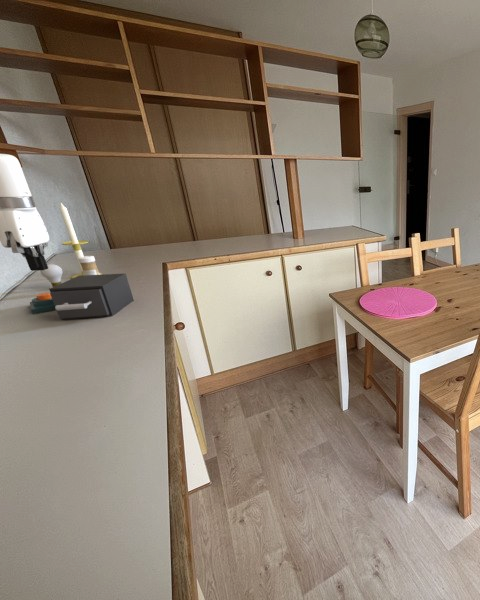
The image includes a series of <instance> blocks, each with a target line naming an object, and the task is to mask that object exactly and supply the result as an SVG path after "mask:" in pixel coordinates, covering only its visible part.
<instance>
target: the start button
mask: <svg viewBox="0 0 480 600" xmlns="http://www.w3.org/2000/svg"><path fill="white" fill-rule="evenodd" d="M36 298H38V300H46V299H51V298H52V297H51V295H50V292H43V293H38V294H36Z"/></svg>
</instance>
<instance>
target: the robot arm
mask: <svg viewBox="0 0 480 600" xmlns="http://www.w3.org/2000/svg"><path fill="white" fill-rule="evenodd" d="M49 241H50V235H49V232H48V230H47V226H46V224H45V222H44V221H43V218H42V216H41V214H40V213H39V211H38V209H37V206H36V203H35V200H34V198H33V196H32V192H31V189H30V187H29V184H28V181H27V179H26V177H25V173H24V171H23V168H22V165H21V163H20V161H19V159H18V158H17V157H16V156H15V155H12V154H7V153H0V244H1V246H2V247H4V248H6V249H11V252H12V253H13V254H20V255H21V256H22V258H24V259H25V260H26V263H27V265H28V267H29V270H30V271H33V272H35V271H41V270H45V269H48V266H47V265H48V263H47V260H46V258H45V256H44V255H45V248H47V247H48V246H49V243H48V242H49Z"/></svg>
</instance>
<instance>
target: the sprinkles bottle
mask: <svg viewBox="0 0 480 600" xmlns="http://www.w3.org/2000/svg"><path fill="white" fill-rule="evenodd" d="M78 260H79V262H80V264H81V266H82V269H83V272H84V275H100V274H99V273H100V271H99V269H98V266H97V264H96V259H95V256H94V255H84V257H79V258H78ZM78 260H77V261H78Z"/></svg>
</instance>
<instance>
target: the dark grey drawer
mask: <svg viewBox="0 0 480 600" xmlns="http://www.w3.org/2000/svg"><path fill="white" fill-rule="evenodd" d="M49 293H50V295H51V297H52V300H53V302H54V305H55V309H56V310H55V311H56V312H57V315H58V317H59V319H60V320H61V319H64V318H77V317H91V316H104V315H109V311H108V308H107V305H106V302H105V299H104V296H103V293H102V290H101V289H100V288H98V289H80V290H62V291H53V292H50V291H49Z"/></svg>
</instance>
